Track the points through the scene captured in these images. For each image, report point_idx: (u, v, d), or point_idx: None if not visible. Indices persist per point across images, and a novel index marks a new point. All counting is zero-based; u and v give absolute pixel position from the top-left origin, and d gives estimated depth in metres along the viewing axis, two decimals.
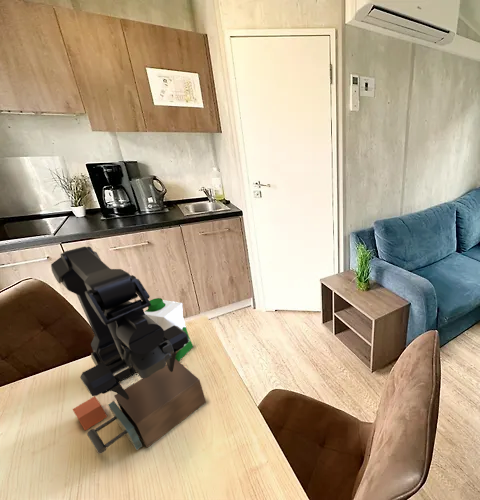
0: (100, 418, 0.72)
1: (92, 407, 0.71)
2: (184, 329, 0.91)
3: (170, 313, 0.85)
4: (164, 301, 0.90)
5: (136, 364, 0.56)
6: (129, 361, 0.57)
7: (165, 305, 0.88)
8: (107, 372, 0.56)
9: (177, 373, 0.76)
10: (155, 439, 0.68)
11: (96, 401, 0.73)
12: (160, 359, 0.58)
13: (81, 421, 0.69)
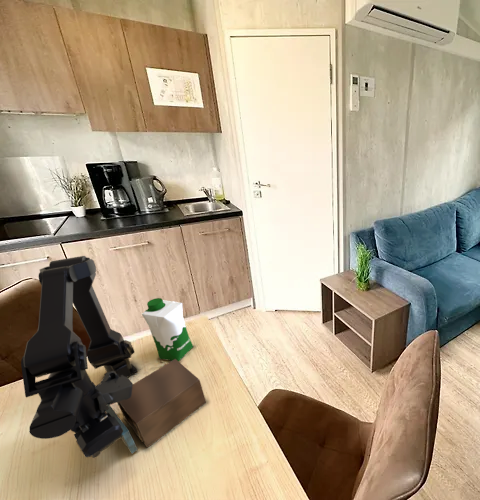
0: None
1: None
2: (184, 329, 0.91)
3: (170, 313, 0.85)
4: (164, 301, 0.90)
5: (123, 388, 0.63)
6: (110, 398, 0.61)
7: (165, 305, 0.88)
8: (106, 419, 0.58)
9: (177, 373, 0.76)
10: (155, 439, 0.68)
11: None
12: (125, 377, 0.66)
13: None
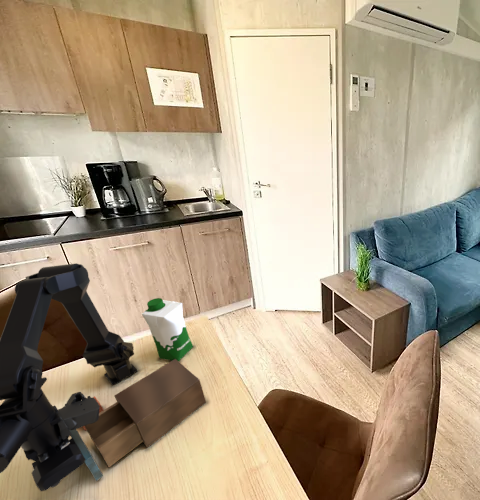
0: None
1: None
2: (184, 329, 0.90)
3: (170, 313, 0.85)
4: (164, 301, 0.90)
5: (88, 411, 0.58)
6: (73, 423, 0.56)
7: (165, 305, 0.88)
8: (66, 447, 0.54)
9: (177, 373, 0.76)
10: (155, 439, 0.68)
11: None
12: (93, 399, 0.62)
13: None
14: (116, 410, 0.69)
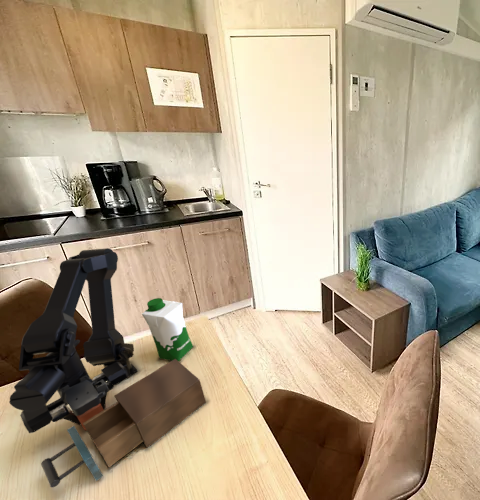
0: None
1: None
2: (184, 329, 0.91)
3: (170, 313, 0.85)
4: (164, 301, 0.90)
5: (70, 404, 0.63)
6: (65, 400, 0.64)
7: (165, 305, 0.88)
8: (44, 411, 0.63)
9: (177, 373, 0.76)
10: (155, 439, 0.68)
11: None
12: (94, 398, 0.65)
13: (81, 421, 0.69)
14: (116, 410, 0.69)
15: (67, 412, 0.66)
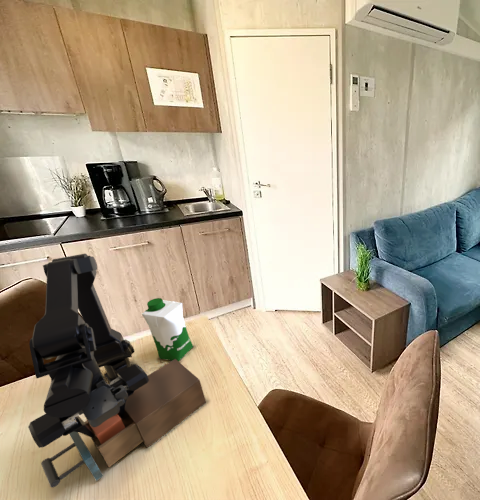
0: None
1: (111, 422, 0.63)
2: (184, 329, 0.91)
3: (170, 313, 0.85)
4: (164, 301, 0.90)
5: (85, 414, 0.54)
6: None
7: (165, 305, 0.88)
8: (56, 421, 0.55)
9: (177, 373, 0.76)
10: (155, 439, 0.68)
11: None
12: (112, 406, 0.56)
13: (99, 438, 0.61)
14: None
15: (79, 424, 0.57)
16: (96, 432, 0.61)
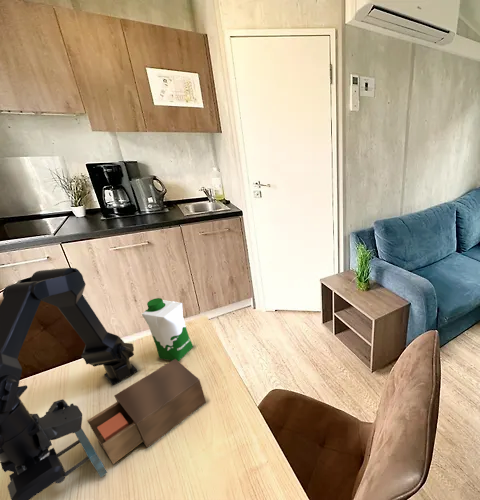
0: None
1: (118, 425, 0.65)
2: (184, 329, 0.90)
3: (170, 313, 0.85)
4: (164, 301, 0.90)
5: (69, 420, 0.56)
6: (53, 433, 0.54)
7: (165, 305, 0.88)
8: (45, 459, 0.51)
9: (177, 373, 0.76)
10: (155, 439, 0.68)
11: (122, 418, 0.66)
12: (76, 407, 0.60)
13: None
14: (120, 408, 0.69)
15: (50, 450, 0.56)
16: (104, 435, 0.63)
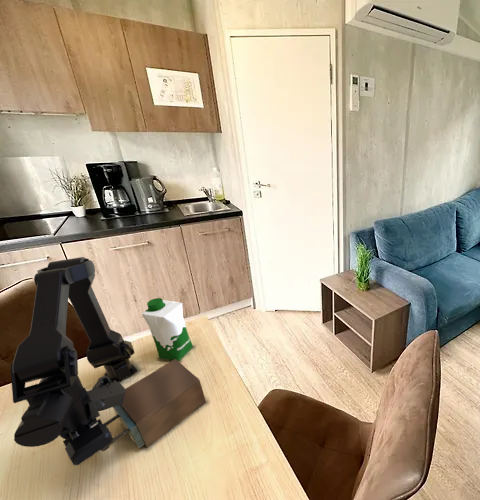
0: None
1: None
2: (184, 329, 0.91)
3: (170, 313, 0.85)
4: (164, 301, 0.90)
5: (115, 394, 0.62)
6: (101, 405, 0.60)
7: (165, 305, 0.88)
8: (96, 426, 0.57)
9: (177, 373, 0.76)
10: (155, 439, 0.68)
11: None
12: (118, 383, 0.65)
13: None
14: None
15: (96, 421, 0.61)
16: None
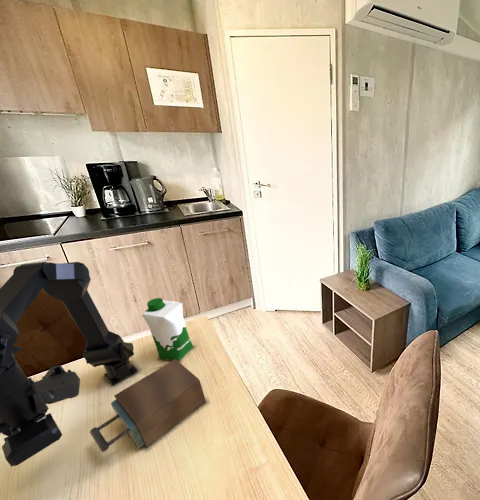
0: None
1: None
2: (184, 329, 0.91)
3: (170, 313, 0.85)
4: (164, 301, 0.90)
5: (66, 385, 0.54)
6: (50, 397, 0.52)
7: (165, 305, 0.88)
8: (41, 421, 0.50)
9: (177, 373, 0.76)
10: (155, 439, 0.68)
11: None
12: (73, 372, 0.58)
13: None
14: None
15: (46, 415, 0.54)
16: None
